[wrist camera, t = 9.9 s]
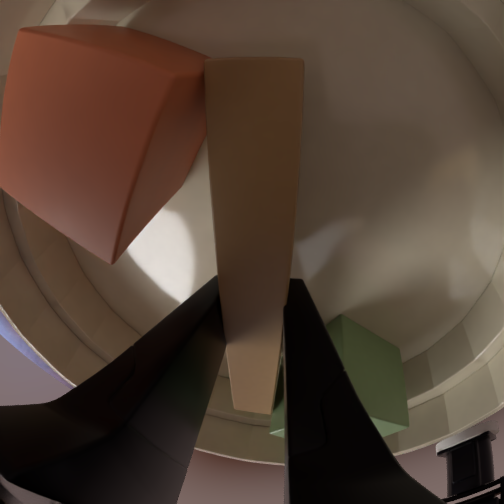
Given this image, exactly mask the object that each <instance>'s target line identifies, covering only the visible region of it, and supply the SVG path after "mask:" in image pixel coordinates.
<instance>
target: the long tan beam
mask: <svg viewBox="0 0 504 504" xmlns="http://www.w3.org/2000/svg"><path fill="white" fill-rule="evenodd" d="M304 78H305V64H304V60H303V59H301V58H290V57H227V58H212V59H206V60H204V85H205V111H206V132H207V150H208V166H209V181H210V195H211V208H212V221H213V232H214V244H215V255H216V265H217V275H218V285H219V294H220V304H221V312H222V321H223V329H224V334H225V338H226V342H227V345H226V354H227V362H228V369H229V377H230V384H231V391H232V398H233V405H234V409H236V410H242V411H249V412H255V413H262V414H269V415H270V414H272V408H273V402H274V396H275V390H276V383H277V377H278V370H279V363H280V356H281V349H282V341H283V307H284V306H285V305H286V304H287V298H288V290H289V282H290V275H291V266H292V256H293V246H294V236H295V225H296V213H297V201H298V189H299V175H300V160H301V144H302V126H303V105H304Z"/></svg>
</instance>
